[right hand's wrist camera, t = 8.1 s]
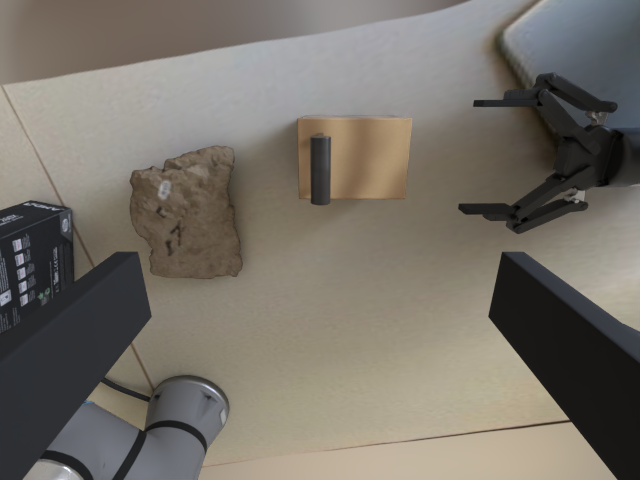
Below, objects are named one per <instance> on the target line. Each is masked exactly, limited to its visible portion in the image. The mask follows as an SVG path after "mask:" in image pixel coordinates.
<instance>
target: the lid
mask: <svg viewBox="0 0 640 480" xmlns="http://www.w3.org/2000/svg"><path fill="white" fill-rule="evenodd" d="M411 126H412V119H411V118H298V119H297V127H298V170H299V199H311V203H312V204H314V205H327V204H330V199H405V190H406V180H407V169H408V158H409V148H410V137H411Z"/></svg>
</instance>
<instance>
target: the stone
mask: <svg viewBox="0 0 640 480" xmlns="http://www.w3.org/2000/svg"><path fill="white" fill-rule="evenodd" d="M233 163H234V151H233V148H230V147H226V146H224V147H221V146H212V147H208V148H204V149H200V150H197V151H196V152H189V153H186V154H183V155H182V156H180V157H177V158H174V159H167V160H166V161H165V164H164V169H162V170H160V169H157V168H156V167H154V166H152V167H151V168H149V169H145V170H134V171H133V172H132V175H131V179H130V183H131V185H132V187H133V193H132V197H131V203H130V215H131V220H132V224H133V226H134V228H135V230H136V232H137V234H138V235H140V236H141V237H143V238H145V239H146V240H147V241H148V243H149V245H150V246H151V248H152V249H153V250H152V251H151V254H152V255H151V256H150V257H149V260H150V263H151V268H150V272H151V273H152V274H153V275H158V276H162V277H170V278H198V279H212V278H214V277H215V276H225V275H231V276H233V277H237V275H238V273H239V271H240V270H241V269H242V265H243V263H242V258H241V256H240V254H239V251H240V241H239V238H238V236H237V232H236V229H235V227H234V213H235V210H234V206H232V205H230V204H229V194H228V191H227V188H228V184H229V181H230V178H231V177H230V173H231V171H232V170H233V167H234V166H233Z"/></svg>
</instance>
